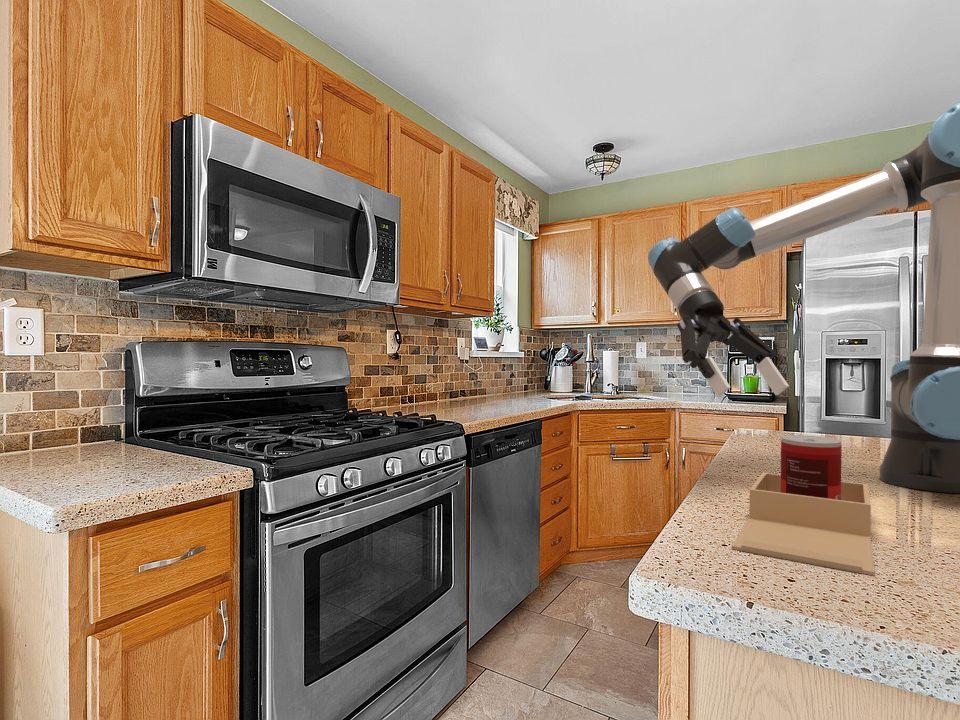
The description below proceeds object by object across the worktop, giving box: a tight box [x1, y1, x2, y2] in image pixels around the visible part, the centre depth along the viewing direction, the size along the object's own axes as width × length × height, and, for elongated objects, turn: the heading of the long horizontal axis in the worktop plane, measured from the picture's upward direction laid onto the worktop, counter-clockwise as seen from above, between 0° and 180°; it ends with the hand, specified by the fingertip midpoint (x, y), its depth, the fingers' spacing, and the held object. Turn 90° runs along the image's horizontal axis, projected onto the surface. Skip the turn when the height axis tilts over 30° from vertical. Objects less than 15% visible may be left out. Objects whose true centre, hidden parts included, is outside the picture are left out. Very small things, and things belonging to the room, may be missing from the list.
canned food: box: [780, 434, 842, 500], centre depth 80 cm, size 8×8×11 cm
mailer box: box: [731, 472, 876, 577], centre depth 74 cm, size 28×14×4 cm, turn 146°
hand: (754, 391), depth 92 cm, fingers open, 13 cm apart
